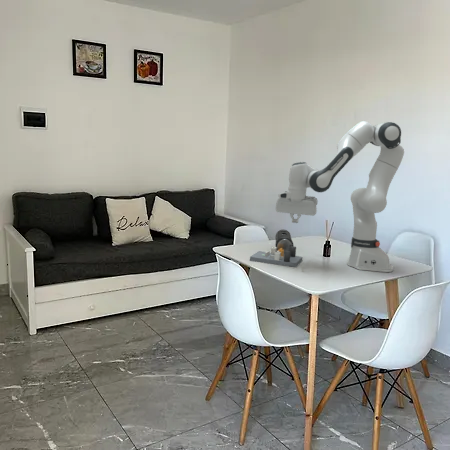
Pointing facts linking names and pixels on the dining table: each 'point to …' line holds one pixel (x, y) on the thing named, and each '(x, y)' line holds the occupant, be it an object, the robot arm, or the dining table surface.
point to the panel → (270, 260)
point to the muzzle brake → (283, 240)
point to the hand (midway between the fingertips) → (295, 222)
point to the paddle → (281, 252)
